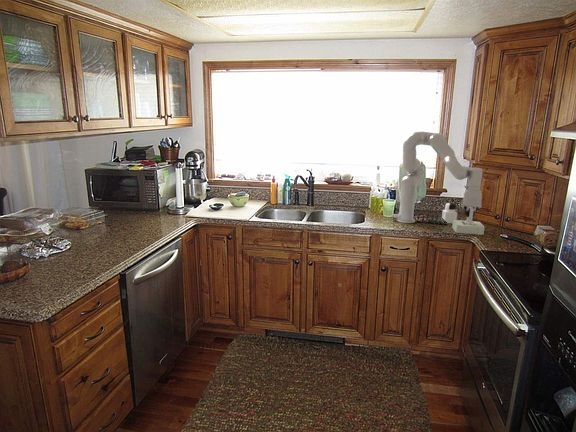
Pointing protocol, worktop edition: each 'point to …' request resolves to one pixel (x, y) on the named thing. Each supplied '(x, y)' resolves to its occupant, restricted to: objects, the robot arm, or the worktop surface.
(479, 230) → the well block
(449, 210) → the container
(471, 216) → the bracket
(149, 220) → the worktop surface
